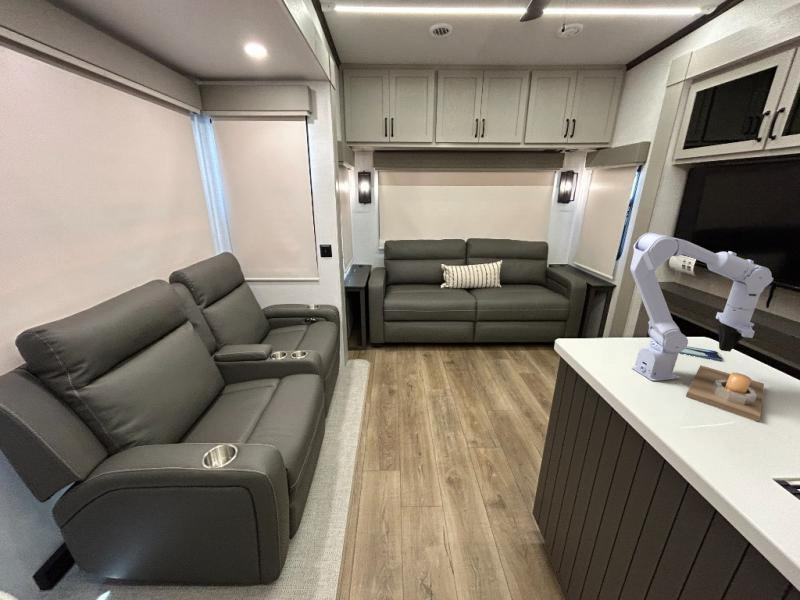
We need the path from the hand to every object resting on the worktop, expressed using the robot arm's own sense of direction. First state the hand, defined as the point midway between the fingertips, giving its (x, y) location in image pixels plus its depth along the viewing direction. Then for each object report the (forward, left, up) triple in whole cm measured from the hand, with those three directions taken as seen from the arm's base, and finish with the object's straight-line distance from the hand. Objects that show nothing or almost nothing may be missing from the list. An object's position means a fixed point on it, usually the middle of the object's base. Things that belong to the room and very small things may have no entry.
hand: (724, 350), depth 97 cm
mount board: (-4, -6, -10) cm, 12 cm away
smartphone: (+11, +16, -10) cm, 22 cm away
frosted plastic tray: (-7, -9, -8) cm, 14 cm away
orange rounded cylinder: (-7, -10, -8) cm, 14 cm away
